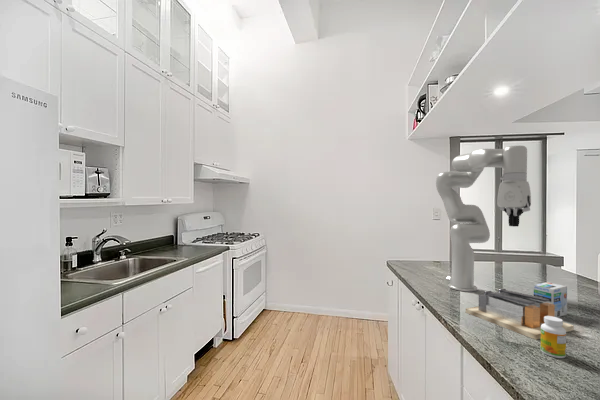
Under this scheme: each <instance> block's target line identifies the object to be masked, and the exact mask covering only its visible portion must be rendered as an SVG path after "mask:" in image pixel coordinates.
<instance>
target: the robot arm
mask: <svg viewBox="0 0 600 400" xmlns="http://www.w3.org/2000/svg"><path fill="white" fill-rule="evenodd" d="M451 167H452V169H454V170H455V171H454V170H453V171H443V172H440V173H438V174H437V176H436V180H435V186H436V190H437V193H438V195H439V196H440V198H441V200H442V202H443V205H444V208H445V212H446V215H447V218H448V220H449V221H450V222H451V223H454V224H453V225H452V226H451V227H450V230H449V236H450V237H449V238H450V241H451V242H450V243H451V275H447V277H446V278H445V280H446V281H448V282H449V283H448V284H447V286H448V288H450V289H452V290H455V291H459V292H468V293H469V292H473V293H474V292H476V291H478V286H476V285H474V284H475V283H474V281H475V253H474V249H473V248H472V247H471V246H472V245H470V244H483V243H487V242H488V241H489V239H490V236H491V234H490V228H489V226H488V224H487V221H486V218H485V215H484V213H483V211H482V210H481V208H480V207H479V206H478V205H475V204H465V203H463V200H462V197H461V196H460V194H459V192H457V191H456V190H454V189H455V188H457V189H459V188H460V189H461V188H462V189H467V188H470V187H472V186H473V185H474V184H475V182H476V181H477V180H478V178H479V177H480V175H481V174H482V173H483V171H484V169H485V168H500V169H501V168H502V176H500V177H499V179H500V180H502V181H501V182H500V183H499V187H498V190H497V191H498V193H497V201H496V203H497V207H498V209H499V211H501V212H505V213H506V215H507V216H508V226H509V227H519V225H520V217H521V216H522V214H523V213H525V212H530V211H531V205H532V193H531V187H530V183H529V181H528V178H527V177H528V171H527V170H528V148H527V147H526V146H525V145H511V146H505V147H504V148H481V149H475V150H471V152H470V153H464V154H459V155H457V156H455V157H454V158H453V159H452V161H451Z"/></svg>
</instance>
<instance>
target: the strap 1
mask: <svg viewBox="0 0 600 400" xmlns="http://www.w3.org/2000/svg"><path fill="white" fill-rule="evenodd" d="M483 294H485V295H492V296H496V297H500V298H505V299H509V300H513V301H517V302H521V303H525V304H530V305H531V304H535V302H533V301H528V300H524V299H520V298H515V297H511V296H507V295H502V294H498V293H495V292H493V291H491V290H486V291H484V292H483Z"/></svg>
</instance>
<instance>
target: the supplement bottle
mask: <svg viewBox="0 0 600 400" xmlns="http://www.w3.org/2000/svg"><path fill="white" fill-rule="evenodd" d="M544 322H545V323H544V324H542V325H541V339H540V348H539V349H540V351H541V352H542V354H545V355H547V356H549V357H552V358H557V359H564V358H566V355H567V332H566V330H565V329H564V328H563V327H562V326H563V322H564V320H563V319H562V318H560V317H553V316H544Z"/></svg>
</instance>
